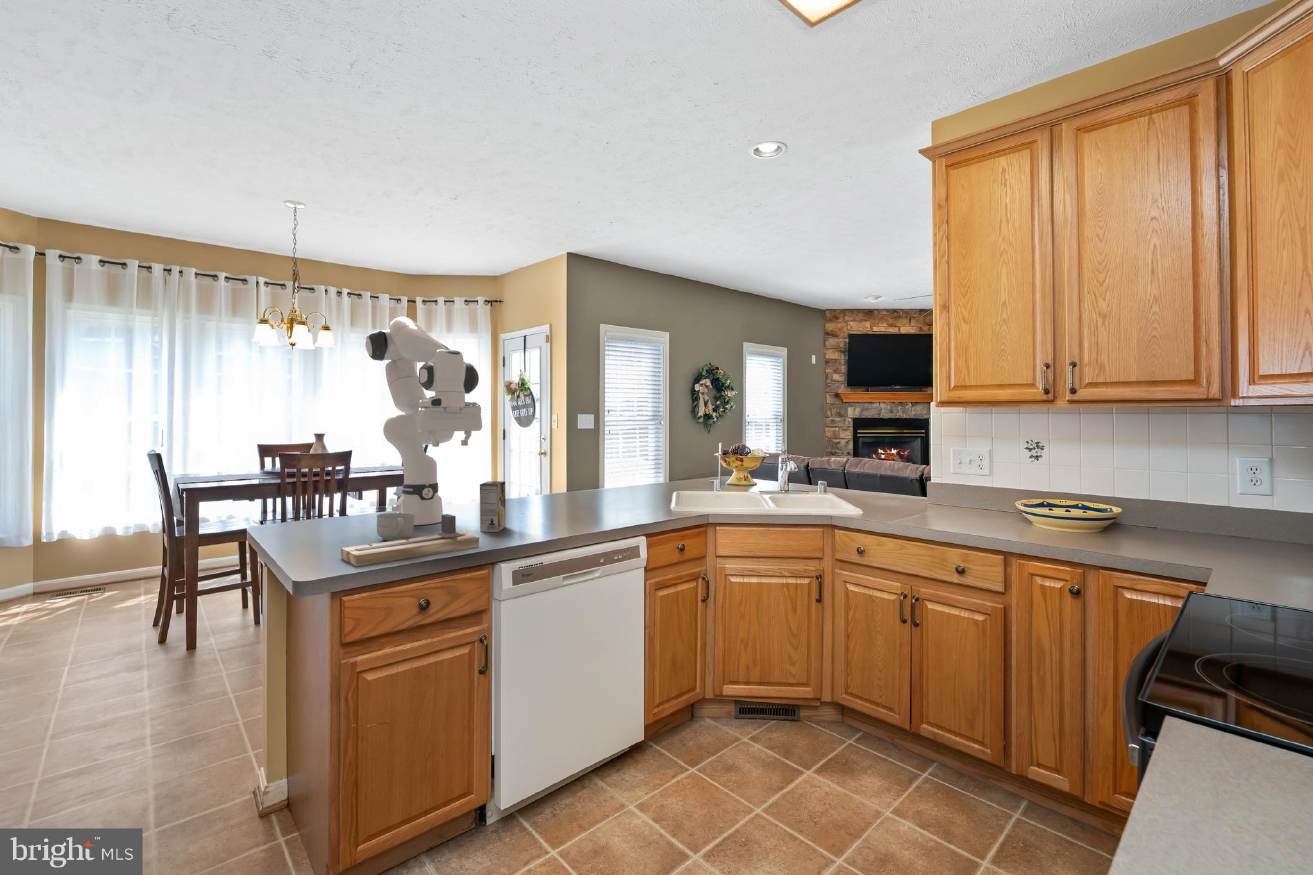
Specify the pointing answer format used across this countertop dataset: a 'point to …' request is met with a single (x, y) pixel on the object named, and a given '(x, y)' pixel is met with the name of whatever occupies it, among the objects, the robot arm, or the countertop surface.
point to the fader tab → (448, 526)
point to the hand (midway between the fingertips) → (450, 446)
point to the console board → (406, 548)
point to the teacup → (395, 526)
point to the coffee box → (492, 506)
